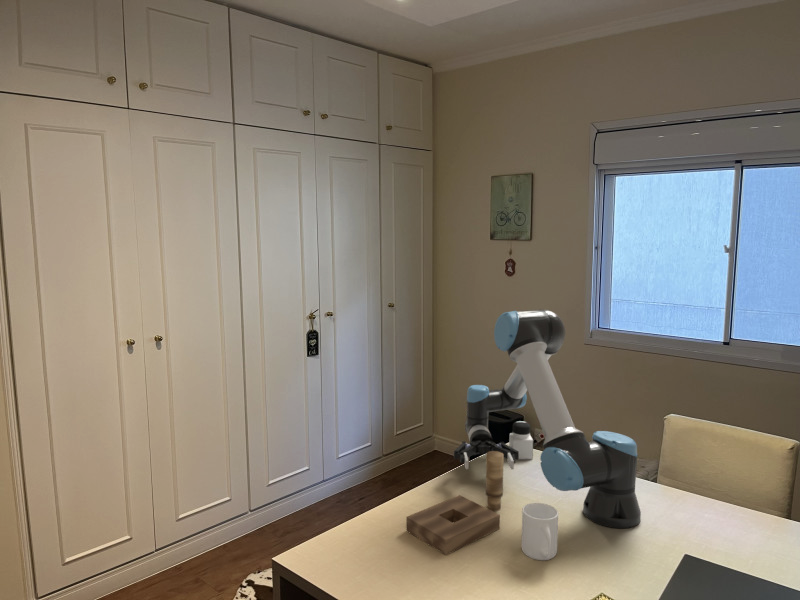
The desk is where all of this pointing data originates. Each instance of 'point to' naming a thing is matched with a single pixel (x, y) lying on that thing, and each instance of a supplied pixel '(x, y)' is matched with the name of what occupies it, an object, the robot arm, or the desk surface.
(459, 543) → the seat board
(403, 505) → the desk surface
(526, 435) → the medicine bottle
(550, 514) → the mug
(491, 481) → the oak leg
